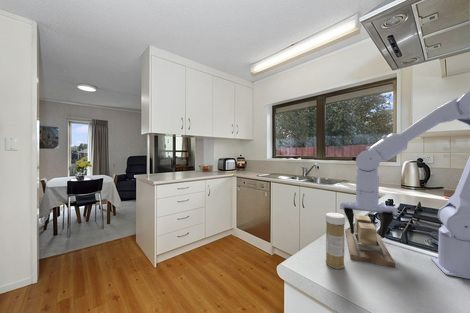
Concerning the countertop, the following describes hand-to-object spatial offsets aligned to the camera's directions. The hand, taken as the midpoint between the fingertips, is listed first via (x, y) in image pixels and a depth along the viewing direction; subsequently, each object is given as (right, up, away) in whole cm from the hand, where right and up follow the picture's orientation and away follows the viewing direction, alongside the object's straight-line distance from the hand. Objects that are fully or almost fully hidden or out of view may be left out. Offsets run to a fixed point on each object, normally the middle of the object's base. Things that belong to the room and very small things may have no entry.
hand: (366, 234), depth 61 cm
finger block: (0, -3, 0) cm, 3 cm away
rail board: (+1, -4, +1) cm, 5 cm away
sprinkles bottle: (-14, -5, -8) cm, 17 cm away
